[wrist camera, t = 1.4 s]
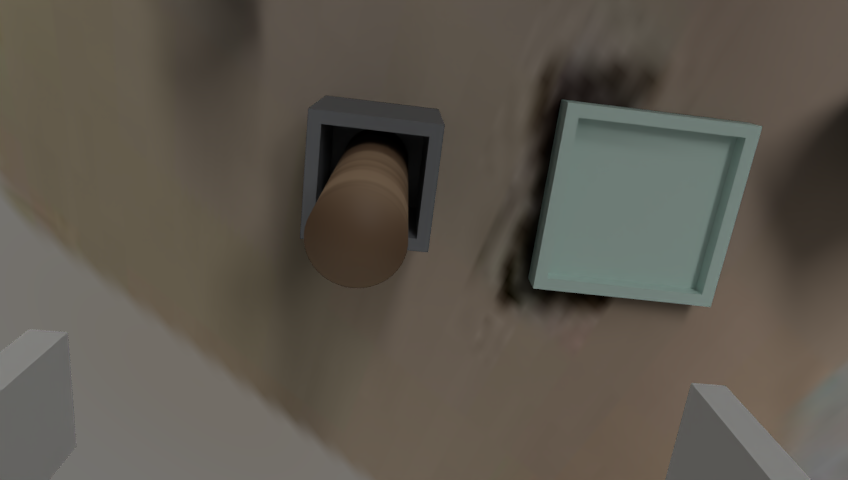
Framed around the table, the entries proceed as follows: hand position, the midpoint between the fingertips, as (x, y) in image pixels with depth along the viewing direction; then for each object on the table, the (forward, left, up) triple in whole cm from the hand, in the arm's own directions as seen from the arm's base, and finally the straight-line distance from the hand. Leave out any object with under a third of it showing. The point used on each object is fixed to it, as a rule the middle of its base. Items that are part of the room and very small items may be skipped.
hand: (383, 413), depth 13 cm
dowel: (0, -1, -27) cm, 27 cm away
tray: (+1, +16, -28) cm, 32 cm away
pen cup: (0, -1, -28) cm, 28 cm away
